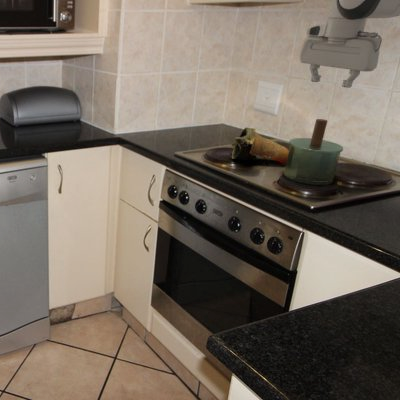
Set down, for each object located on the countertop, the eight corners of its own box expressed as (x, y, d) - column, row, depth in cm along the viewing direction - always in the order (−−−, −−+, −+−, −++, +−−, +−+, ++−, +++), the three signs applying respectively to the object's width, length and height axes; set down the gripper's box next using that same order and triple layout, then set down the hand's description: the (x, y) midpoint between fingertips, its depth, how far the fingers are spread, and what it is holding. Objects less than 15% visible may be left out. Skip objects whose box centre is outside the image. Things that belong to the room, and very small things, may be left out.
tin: (338, 178, 140) (346, 147, 136) (323, 188, 132) (332, 155, 128) (293, 167, 148) (300, 138, 144) (276, 176, 140) (283, 145, 136)
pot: (304, 140, 141) (244, 119, 143) (288, 176, 142) (229, 154, 144) (284, 144, 158) (231, 125, 160) (270, 176, 159) (218, 156, 161)
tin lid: (348, 149, 136) (356, 120, 133) (332, 158, 128) (340, 128, 124) (298, 139, 145) (305, 112, 142) (280, 147, 137) (287, 119, 133)
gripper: (392, 32, 116) (375, 90, 122) (318, 28, 134) (306, 78, 139) (374, 33, 114) (359, 91, 119) (301, 28, 131) (290, 79, 137)
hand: (330, 84), depth 129 cm, fingers open, 8 cm apart
